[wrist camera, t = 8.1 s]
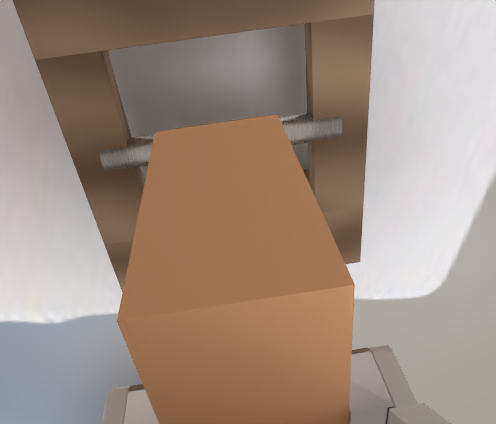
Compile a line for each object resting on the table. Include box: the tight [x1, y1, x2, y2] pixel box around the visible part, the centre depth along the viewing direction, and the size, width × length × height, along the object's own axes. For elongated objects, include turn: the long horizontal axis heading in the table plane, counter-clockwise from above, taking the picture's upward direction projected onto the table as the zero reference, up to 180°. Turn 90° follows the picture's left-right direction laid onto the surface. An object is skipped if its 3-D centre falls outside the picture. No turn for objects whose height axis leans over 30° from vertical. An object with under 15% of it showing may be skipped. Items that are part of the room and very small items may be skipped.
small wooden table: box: [13, 0, 374, 292], centre depth 27 cm, size 20×16×10 cm
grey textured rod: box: [99, 113, 342, 171], centre depth 23 cm, size 2×13×2 cm, turn 96°
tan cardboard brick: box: [117, 114, 355, 424], centre depth 13 cm, size 9×4×8 cm, turn 6°
